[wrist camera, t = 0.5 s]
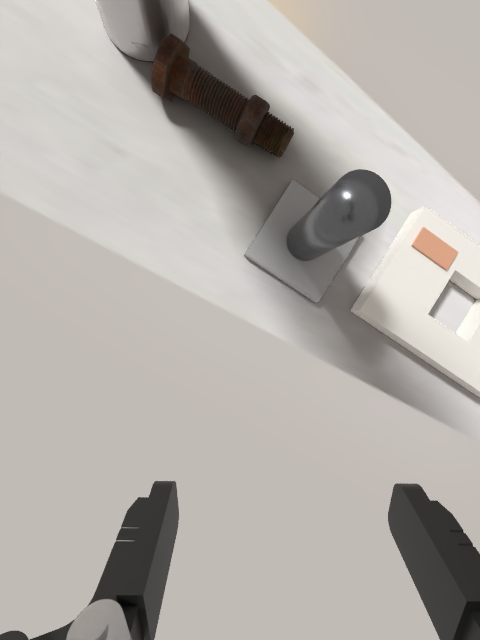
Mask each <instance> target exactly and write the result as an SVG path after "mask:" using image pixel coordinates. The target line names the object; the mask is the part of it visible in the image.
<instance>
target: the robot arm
mask: <svg viewBox="0 0 480 640" xmlns="http://www.w3.org/2000/svg"><path fill="white" fill-rule="evenodd" d="M95 2H96V5H97V8H98V10H99V13H100V16H101V19H102V21H103V24H104V27H105V29H106V31H107V34H108V36H109V37H110V39H111V40H112V42H113V43H114V44H115V45H116V46H117V47H118V48H119V49H120V50H121V51H122V52H124V53H125V54H127V55H129V56H131V57H133V58H136V59H138V60H144V61H154V58H155V56H156V53H157V50H158V47H159V45H160V43H161V41H162V40H163V39H164V38H165V37H167V36H168V35H169V34H171V33H172V34H173V35H175V36H176V37H178V38H179V39H181V40H182V41H183V42H185V40H186V37H187V35H188V31H189V26H190V20H189V3H188V0H95ZM178 520H179V509H178V498H177V488H176V482H175V481H155V482H154V484H153V486H152V489H151V493H150V495H149V498H140V497H139V498H138V499H137V500H136V501H135V502H134V503H133V505H132V506H131V507H130V508H129V509H128V511H127V513H126V516H125V518H124V521H123V523H122V527H121V529H120V531H119V533H118V536H117V539H116V542H115V544H114V546H113V549H112V551H111V554H110V557H109V559H108V561H107V564H106V567H105V569H104V572H103V574H102V577H101V579H100V582H99V584H98V587H97V590H96V592H95V594H94V596H93V598H92V600H91V602H90V603H89V605H88V606H87V607H86V608H85V609H84V610H83V611H82V612H81V613H80V614H79V615H78V616H77V618H76V619H75V620H73V621H72V622H71V623H69V624H67V625H66V626H64V627H62V628H59V629H57V630H55V631H52V632H49V633H46V634H44V635H41V636H39V637H36V638H33V639H30V640H154V638H155V633H156V628H157V624H158V619H159V614H160V609H161V605H162V599H163V595H164V590H165V586H166V581H167V576H168V571H169V567H170V562H171V557H172V553H173V548H174V543H175V539H176V534H177V528H178ZM388 521H389V527H390V530H391V533H392V536H393V538H394V540H395V542H396V544H397V546H398V549H399V551H400V553H401V555H402V557H403V560H404V562H405V564H406V566H407V568H408V570H409V573H410V575H411V577H412V579H413V581H414V584H415V586H416V588H417V590H418V592H419V594H420V597H421V599H422V601H423V603H424V605H425V607H426V610H427V612H428V614H429V616H430V618H431V621H432V623H433V625H434V627H435V629H436V631H437V634H438V636H439V638H440V640H480V554H479V552H478V551H477V550H476V548H475V547H473V545H472V542H471V541H470V539H469V538H468V536H467V535H466V534H465V533H464V532H463V529H462V528H461V526H460V525H459V523H458V522H457V520H456V519H455V518H454V516H453V515H452V514H451V513H450V512H449V511H448V510H447V509H446V508H445V507H443V506H442V505H441V504H440V503H439V502H438V501H430V500H429V498H428V497H427V495H426V493H425V492H424V490H423V489H422V487H421V486H420V485H418V484H395V485H394V488H393V493H392V497H391V502H390V507H389V512H388ZM0 640H28V638H27V636H26V635H25V634H24V633H23V632H20V631H9V632H6V633H3V634H1V635H0Z"/></svg>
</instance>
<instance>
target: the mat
mask: <svg viewBox="0 0 480 640" xmlns="http://www.w3.org/2000/svg"><path fill="white" fill-rule="evenodd" d="M319 200H320V198H319V197H317V196H316V195H314V194H313V193H312V192H310V191H309V190H307V189H306V188H305V187H303V186H302V185H300V184H299V183H298V182H296V181H295V180H292V181H291V183H290V184H289V186H288V187H287V189H286V191H285V192H284V194H283V195H282V197H281V198H280V200H279V202H278V203H277V205H276V206H275V208H274V209H273V211H272V212H271V214H270V216H269V217H268V219H267V220H266V222H265V223H264V225H263V227H262V228H261V230H260V231H259V233H258V234H257V236H256V237H255V239H254V241H253V242H252V244H251V245H250V247H249V248H248V250H247V251H246V253H245V255H244V256H245V257H247V258H248V259H250V260H251V261H253V262H254V263H256V264H257V265H259V266H260V267H262V268H263V269H265V270H266V271H268V272H269V273H271V274H272V275H274V276H275V277H277V278H278V279H280V280H282V281H283V282H285V283H286V284H288V285H289V286H291V287H292V288H294V289H295V290H297V291H298V292H300V293H301V294H303V295H304V296H306V297H307V298H309V299H310V300H312V301H313V302H315V303H318V302H319V300H320V299H321V297H322V296H323V294H324V293H325V291H326V289H327V288H328V286H329V285H330V283H331V281H332V280H333V278H334V277H335V275H336V273H337V272H338V270H339V269H340V267H341V266H342V264H343V262H344V261H345V259H346V258H347V256H348V254H349V253H350V251H351V250H352V248H353V246H354V245H355V243H356V242H357V240H358V238H359V237H358V238H356V239H354V240H352V241H350V242H348V243H346V244H344V245H342V246H340V247H338V248H335V249H333V250H331V251H329V252H327V253H325V254H323V255H321V256H319V257H317V258H315V259H313V260H310V261H301V260H298V259H296V258H295V257H294V256H292V254H291V253H290V252H289V250H288V247H287V235H288V233H289V231H290V229H291V228H292V227H293V226H294V225H295V224H296V223H297V222H298V221H299V220H300V219H301V218H302V217H303V216H304V215H305V214H306V213H307V212H308V211H309V210H310V209H311V208H312V207H313V206H314V205H315V204H316V203H317V202H318V201H319Z"/></svg>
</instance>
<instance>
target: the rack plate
mask: <svg viewBox="0 0 480 640" xmlns="http://www.w3.org/2000/svg"><path fill="white" fill-rule="evenodd" d="M449 280H450V281H452V282H453V283H454V284H456V285H457V286H459V287H460V288H461V289H463V290H464V291H466V292H467V293H468V294H470V295H471V296H473V297H474V298H475V299H476V301H475V303H474V304H473V306H472V308H471V309H470V311H469V312H468V314H467V316H466V317H465V319H464V321H463V322H462V324H461V326H460V327H459V329H458V330H457V332H456V333H454V332H453V331H451V330H450V329H449V328H447V327H446V326H444V325H443V324H441V323H440V322H438V321H437V320H436V319H434V318H433V317H431V316H430V315H428V313H429V312H430V310H431V309H432V307H433V305H434V304H435V302H436V300H437V299H438V297H439V296H440V294H441V292H442V291H443V289H444V287H445V286H446V284H447V283H448V281H449ZM350 311H351V312H353V313H354V314H356V315H357V316H359V317H360V318H362V319H363V320H365V321H366V322H368V323H369V324H371V325H372V326H374V327H375V328H376V329H378V330H379V331H381V332H382V333H384V334H385V335H387V336H388V337H390V338H391V339H393V340H394V341H396V342H397V343H399V344H400V345H402V346H403V347H405V348H406V349H408V350H409V351H411V352H412V353H414V354H415V355H417V356H418V357H420V358H421V359H423V360H424V361H426V362H427V363H429V364H430V365H432V366H433V367H435V368H436V369H438V370H439V371H440V372H442V373H443V374H445V375H446V376H448V377H449V378H451V379H452V380H454V381H455V382H457V383H458V384H460V385H461V386H463V387H464V388H466V389H467V390H469V391H470V392H472V393H473V394H475V395H476V396H478V397H480V245H479V244H477V243H476V242H475V241H473V240H472V239H471V238H469V237H468V236H467V235H465V234H464V233H462V232H461V231H460V230H458V229H457V228H456V227H454V226H453V225H452V224H450V223H449V222H448V221H446V220H445V219H443V218H442V217H441V216H439V215H438V214H437V213H435V212H434V211H433V210H431V209H430V208H429V207H427V206H424V207H422V208H420V209H418V210H416V211H414V212H411V214H410V215H409V217H408V219H407V220H406V222H405V223H404V225H403V227H402V228H401V230H400V231H399V233H398V235H397V236H396V238H395V239H394V241H393V243H392V244H391V246H390V247H389V249H388V251H387V252H386V254H385V255H384V257H383V259H382V260H381V262H380V263H379V265H378V267H377V268H376V270H375V271H374V273H373V275H372V276H371V278H370V279H369V281H368V283H367V284H366V286H365V287H364V289H363V291H362V292H361V294H360V295H359V297H358V299H357V300H356V302H355V303H354V305H353V307H352V308H351V310H350Z"/></svg>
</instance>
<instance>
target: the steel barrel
mask: <svg viewBox="0 0 480 640" xmlns="http://www.w3.org/2000/svg"><path fill="white" fill-rule="evenodd" d="M390 208H391V194H390V191H389V188H388V186H387V184H386V183H385V181H384V180H383V179H382V178H381V177H380V176H379V175H377V174H376V173H374V172H372V171H368V170H354V171H351V172H349V173H347V174H345V175H344V176H343V177H342V178H341V179H340V180H339V181H338V182H337V183H336V184H335V185H334V186H333V187H332V188H331V189H330V190H329V191H328V192H327V193H326V194H325V195H324V196H323V197H322V198H321V199H320V200H319V201H318V202H317V203H316V204H315V205H314V206H313V207H312V208H311V209H310V210H309V211H308V212H307V213H306V214H305V215H304V216H303V217H302V218H301V219H300V220H299V221H298V222H297V223H296V224H295V225H294V226H293V227H292V228H291V229H290V231H289V233H288V235H287V247H288V250H289V252H290V253H291V254H292V256H294V257H295V258H296V259H298V260H301V261H310V260H313V259H315V258H317V257H319V256H321V255H323V254H325V253H327V252H329V251H331V250H333V249H335V248H338V247H340V246H342V245H344V244H346V243H348V242H350V241H352V240H354V239H356V238H358V237H360V236H362V235H364V234H366V233H368V232H370V231H372V230H374V229H376V228H377V227H379V226H380V225H381V224H382V223H383V222H384V221H385V220H386V218H387V217H388V215H389V212H390Z"/></svg>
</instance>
